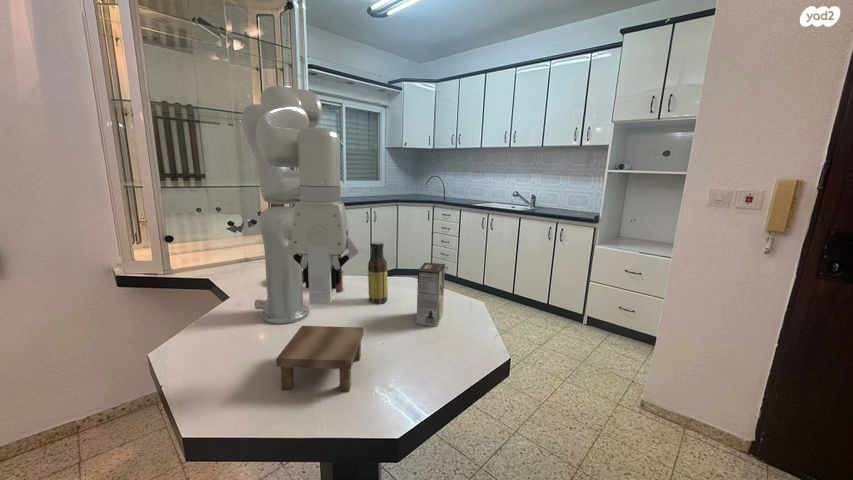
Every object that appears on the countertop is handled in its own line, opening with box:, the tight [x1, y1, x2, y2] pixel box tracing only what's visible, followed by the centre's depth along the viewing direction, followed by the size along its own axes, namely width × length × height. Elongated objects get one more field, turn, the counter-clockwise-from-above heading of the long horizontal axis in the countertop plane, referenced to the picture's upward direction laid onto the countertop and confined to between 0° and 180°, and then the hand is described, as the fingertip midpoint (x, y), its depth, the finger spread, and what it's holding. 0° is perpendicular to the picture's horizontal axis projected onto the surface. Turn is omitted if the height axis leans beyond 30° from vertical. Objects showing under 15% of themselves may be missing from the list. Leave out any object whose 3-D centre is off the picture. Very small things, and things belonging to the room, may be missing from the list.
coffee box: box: [416, 262, 446, 327], centre depth 99 cm, size 9×6×16 cm
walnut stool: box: [276, 325, 364, 393], centre depth 72 cm, size 14×14×7 cm
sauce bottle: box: [367, 240, 389, 305], centre depth 111 cm, size 6×6×20 cm
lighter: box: [336, 269, 344, 293], centre depth 122 cm, size 8×3×10 cm, turn 58°
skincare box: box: [307, 244, 337, 305], centre depth 69 cm, size 6×4×12 cm
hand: (322, 285), depth 69 cm, fingers closed on skincare box, 4 cm apart
